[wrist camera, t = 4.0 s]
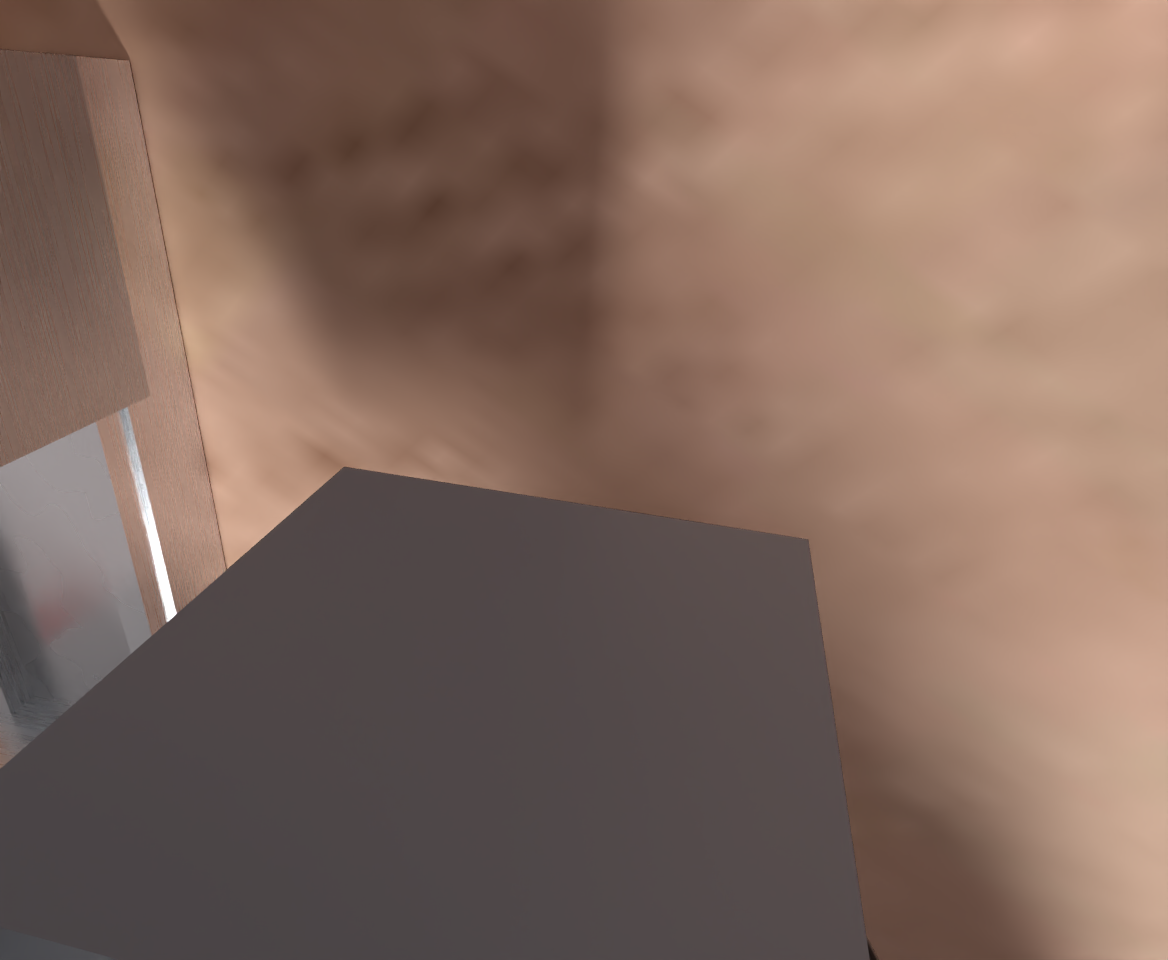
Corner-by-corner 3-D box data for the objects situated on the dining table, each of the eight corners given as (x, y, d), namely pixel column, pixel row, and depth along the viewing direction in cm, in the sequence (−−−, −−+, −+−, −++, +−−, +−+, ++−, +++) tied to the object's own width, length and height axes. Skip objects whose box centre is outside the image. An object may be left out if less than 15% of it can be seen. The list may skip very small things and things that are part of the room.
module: (718, 908, 10) (695, 1552, 6) (377, 829, 11) (112, 1345, 6) (808, 539, 7) (908, 1223, 3) (344, 467, 8) (-171, 916, 4)
